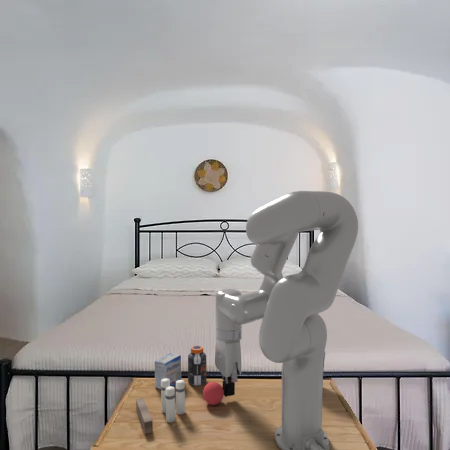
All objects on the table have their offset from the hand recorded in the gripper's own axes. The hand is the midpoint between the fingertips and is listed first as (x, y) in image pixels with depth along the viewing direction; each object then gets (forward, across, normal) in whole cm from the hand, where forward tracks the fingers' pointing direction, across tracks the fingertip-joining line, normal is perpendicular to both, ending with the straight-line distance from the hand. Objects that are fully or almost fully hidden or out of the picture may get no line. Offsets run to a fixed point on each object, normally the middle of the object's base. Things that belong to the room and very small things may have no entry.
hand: (228, 394), depth 109 cm
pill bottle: (+2, -14, -5) cm, 15 cm away
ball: (-1, 0, -5) cm, 5 cm away
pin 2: (+2, +4, -18) cm, 18 cm away
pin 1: (+2, -1, -18) cm, 18 cm away
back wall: (+2, +2, -25) cm, 25 cm away
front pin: (+2, +1, -15) cm, 15 cm away
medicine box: (+2, -16, -14) cm, 22 cm away
